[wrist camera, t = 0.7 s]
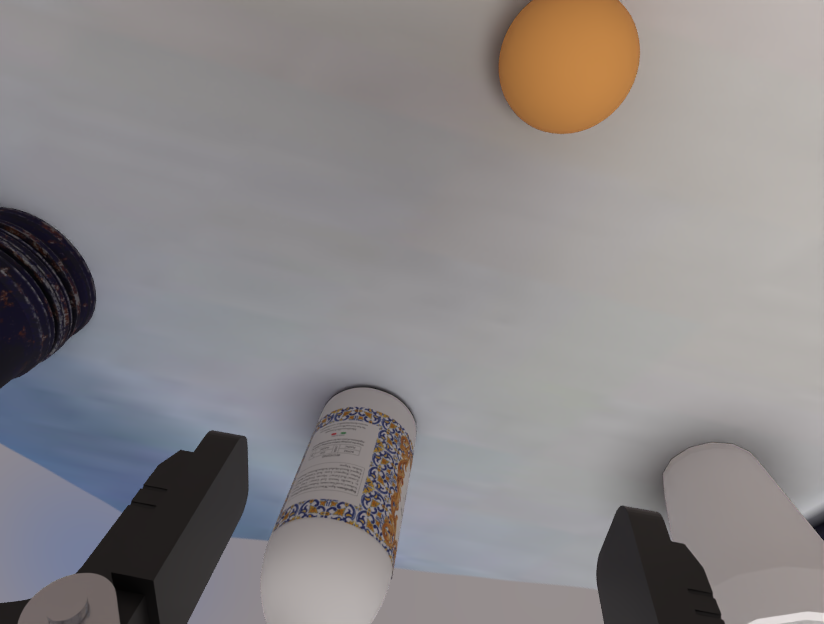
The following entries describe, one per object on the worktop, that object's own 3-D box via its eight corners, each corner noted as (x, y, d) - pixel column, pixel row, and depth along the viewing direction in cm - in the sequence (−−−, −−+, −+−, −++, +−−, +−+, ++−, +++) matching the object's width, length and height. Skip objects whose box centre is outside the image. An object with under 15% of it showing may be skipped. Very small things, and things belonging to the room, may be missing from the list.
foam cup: (612, 491, 41) (657, 680, 29) (697, 403, 36) (789, 585, 25) (722, 541, 42) (807, 742, 30) (818, 461, 37) (961, 662, 26)
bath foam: (402, 470, 42) (339, 798, 25) (313, 442, 42) (187, 754, 25) (430, 402, 39) (379, 727, 21) (334, 371, 39) (204, 675, 21)
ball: (509, -21, 26) (514, -26, 21) (640, -7, 26) (677, -9, 21) (488, 113, 29) (488, 137, 24) (605, 127, 29) (630, 155, 24)
